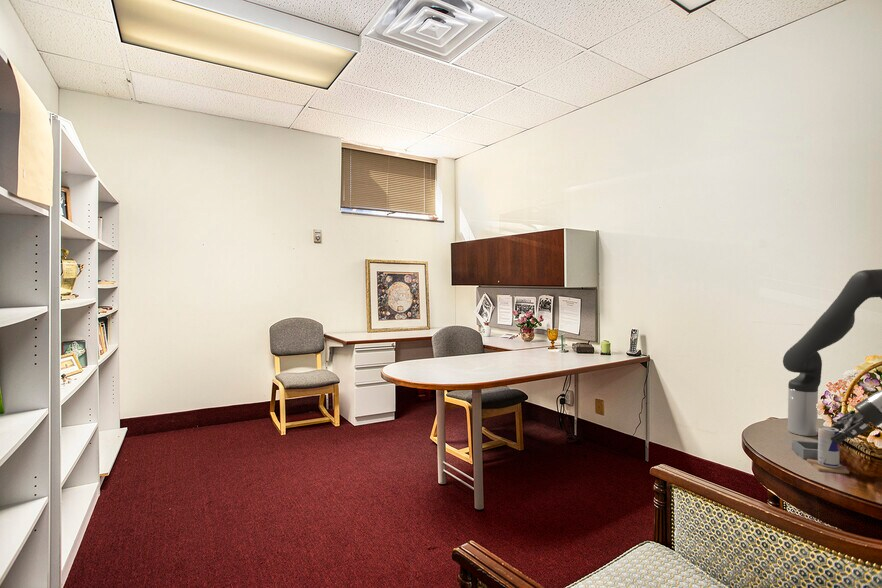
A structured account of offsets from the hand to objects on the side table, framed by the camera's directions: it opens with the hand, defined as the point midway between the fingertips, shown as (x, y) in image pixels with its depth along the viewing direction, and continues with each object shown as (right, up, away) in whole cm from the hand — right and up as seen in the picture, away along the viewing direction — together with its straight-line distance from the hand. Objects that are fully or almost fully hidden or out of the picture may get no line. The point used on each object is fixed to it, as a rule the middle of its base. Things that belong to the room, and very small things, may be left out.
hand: (830, 437), depth 150 cm
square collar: (+3, -10, +10) cm, 14 cm away
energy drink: (0, -9, +1) cm, 9 cm away
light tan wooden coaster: (0, -10, +1) cm, 10 cm away
